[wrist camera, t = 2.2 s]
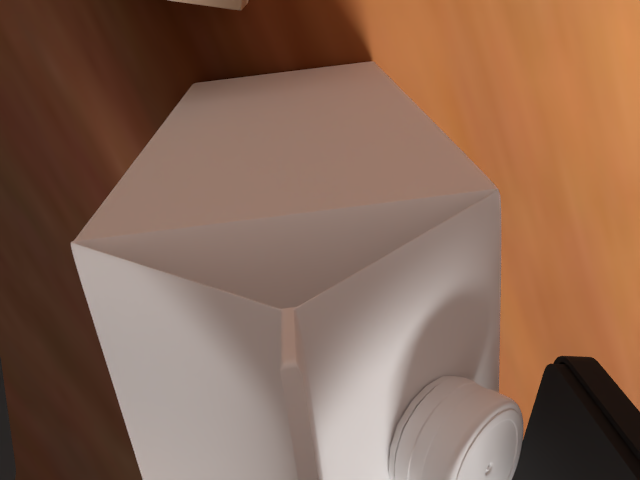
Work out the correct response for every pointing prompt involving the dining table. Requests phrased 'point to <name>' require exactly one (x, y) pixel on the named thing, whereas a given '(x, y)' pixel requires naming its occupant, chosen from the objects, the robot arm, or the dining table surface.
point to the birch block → (218, 3)
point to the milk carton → (303, 288)
